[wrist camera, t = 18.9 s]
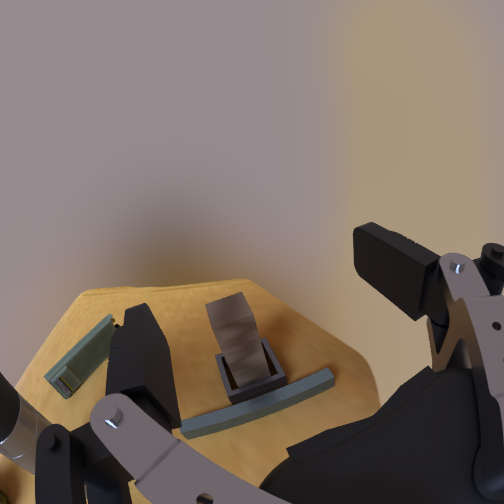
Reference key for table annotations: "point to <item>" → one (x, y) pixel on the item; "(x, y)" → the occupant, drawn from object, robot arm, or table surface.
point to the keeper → (259, 404)
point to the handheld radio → (82, 358)
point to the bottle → (2, 498)
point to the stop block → (238, 339)
